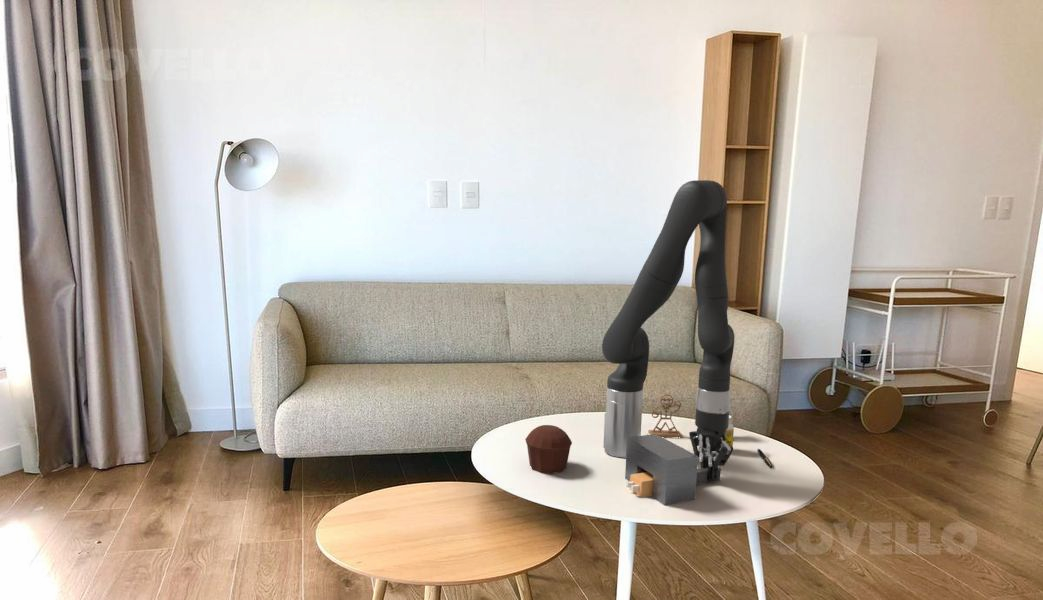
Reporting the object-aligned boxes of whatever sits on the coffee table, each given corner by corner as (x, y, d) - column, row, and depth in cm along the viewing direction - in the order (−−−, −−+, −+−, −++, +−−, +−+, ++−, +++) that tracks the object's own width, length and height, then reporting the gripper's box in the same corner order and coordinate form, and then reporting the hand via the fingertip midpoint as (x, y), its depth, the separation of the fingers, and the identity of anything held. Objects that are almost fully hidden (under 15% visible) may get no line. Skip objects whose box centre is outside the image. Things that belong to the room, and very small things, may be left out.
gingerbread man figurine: (650, 437, 193) (652, 395, 192) (647, 433, 197) (649, 392, 195) (682, 438, 193) (684, 396, 192) (678, 433, 197) (681, 392, 195)
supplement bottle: (729, 448, 186) (732, 413, 184) (734, 454, 180) (736, 419, 179) (709, 447, 186) (711, 412, 185) (713, 453, 181) (715, 418, 179)
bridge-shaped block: (625, 478, 162) (626, 437, 161) (653, 474, 165) (655, 433, 164) (664, 505, 148) (667, 460, 146) (695, 500, 151) (697, 456, 149)
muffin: (580, 471, 166) (581, 431, 165) (540, 479, 161) (541, 437, 159) (554, 455, 176) (555, 418, 175) (516, 462, 171) (517, 423, 170)
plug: (623, 490, 155) (624, 475, 155) (711, 476, 165) (711, 462, 165) (634, 498, 151) (635, 482, 151) (723, 482, 161) (724, 468, 161)
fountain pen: (755, 450, 185) (755, 445, 185) (759, 450, 185) (760, 445, 185) (769, 469, 171) (769, 464, 171) (774, 470, 171) (774, 464, 171)
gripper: (681, 401, 164) (677, 470, 167) (719, 417, 152) (714, 492, 154) (706, 398, 167) (702, 466, 170) (746, 413, 155) (741, 487, 157)
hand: (708, 478), depth 162 cm, fingers closed on plug, 2 cm apart
